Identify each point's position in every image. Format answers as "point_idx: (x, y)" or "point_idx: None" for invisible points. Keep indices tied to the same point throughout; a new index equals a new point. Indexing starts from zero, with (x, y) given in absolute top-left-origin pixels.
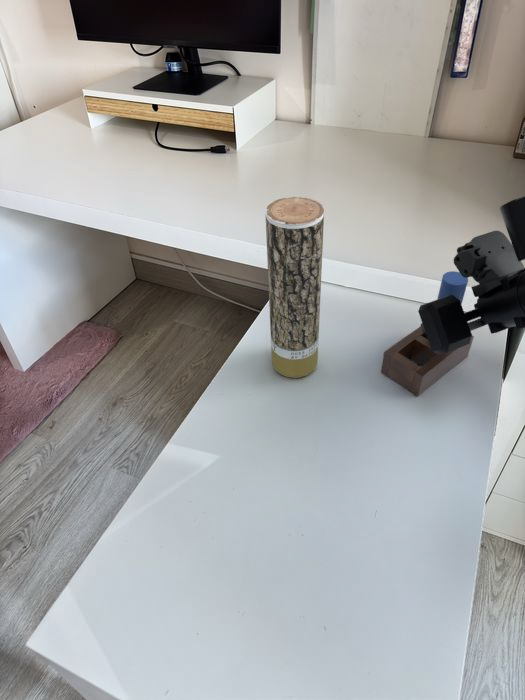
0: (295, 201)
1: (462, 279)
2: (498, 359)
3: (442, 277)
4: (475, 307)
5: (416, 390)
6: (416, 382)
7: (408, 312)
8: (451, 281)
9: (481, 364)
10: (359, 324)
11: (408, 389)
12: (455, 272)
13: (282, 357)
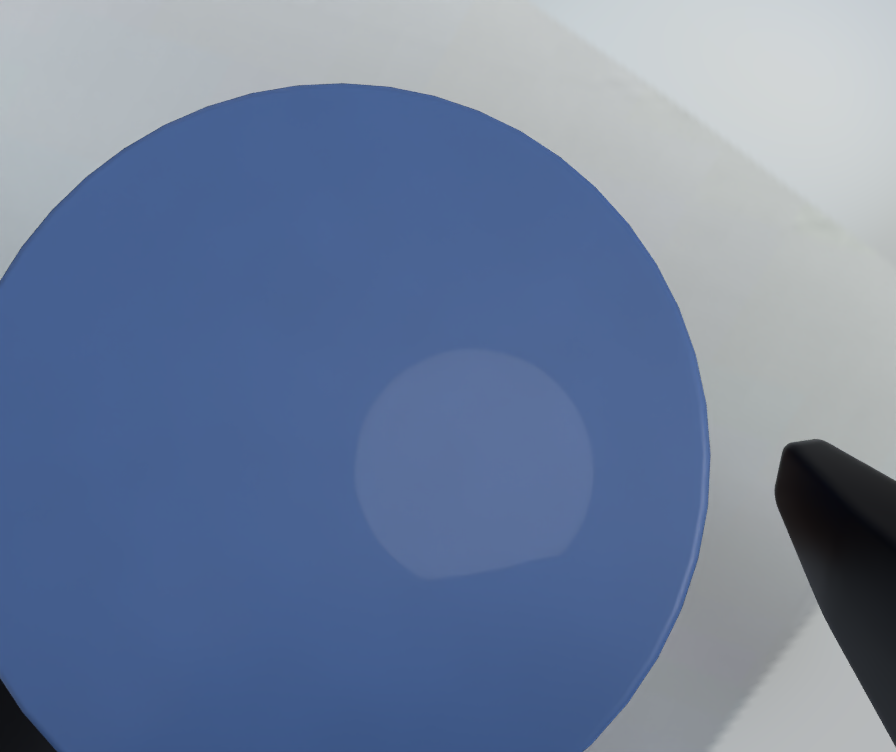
0: None
1: (483, 586)
2: (804, 625)
3: (45, 249)
4: (786, 475)
5: None
6: None
7: (496, 66)
8: (102, 559)
9: (677, 629)
10: (169, 80)
11: None
12: (485, 179)
13: None
